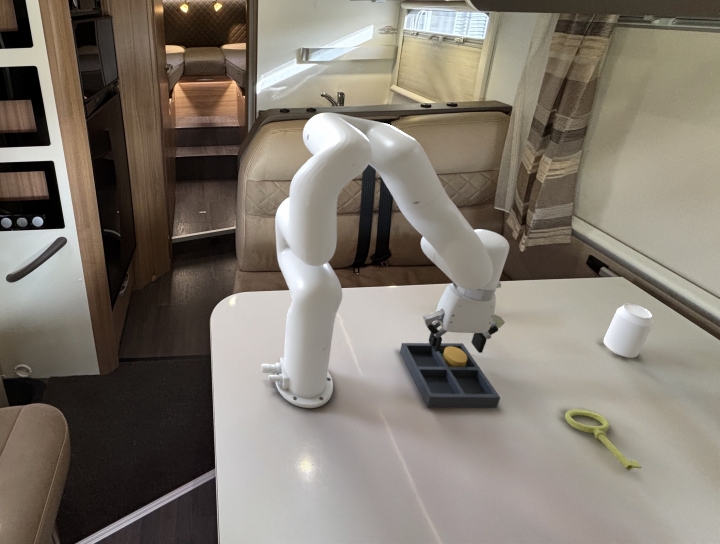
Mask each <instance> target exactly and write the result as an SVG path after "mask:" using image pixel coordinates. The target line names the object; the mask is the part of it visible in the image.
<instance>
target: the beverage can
mask: <svg viewBox="0 0 720 544" xmlns="http://www.w3.org/2000/svg"><path fill="white" fill-rule="evenodd" d="M653 325H654V320H653V314H652V313H651V311H650V310H648V309H647V308H645V307H643V306H641V305H638V304H635V303H628V302H627V303H624V304H623V305H622V306H619V307H618V308H617V309H616V311H615V312H614V315H613V318H612V320H611V322H610V324H609V326H608V328H607V331H606V334H605V335H604V338H603V343H604V346H605V347H606V348H607V349H608V350H610V351H611V352H612V353H613V354H616V355H618V356H619V357H622V358H623V357H624V358H631V359H632V358H636V357H638V356H639V354H640V352H641V350H642V348H643V346H644V344H645V342H646V340H647V339H648V336H649V334H650V332H651V329H652V328H653Z"/></svg>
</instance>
